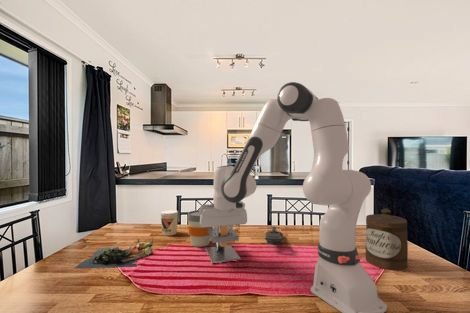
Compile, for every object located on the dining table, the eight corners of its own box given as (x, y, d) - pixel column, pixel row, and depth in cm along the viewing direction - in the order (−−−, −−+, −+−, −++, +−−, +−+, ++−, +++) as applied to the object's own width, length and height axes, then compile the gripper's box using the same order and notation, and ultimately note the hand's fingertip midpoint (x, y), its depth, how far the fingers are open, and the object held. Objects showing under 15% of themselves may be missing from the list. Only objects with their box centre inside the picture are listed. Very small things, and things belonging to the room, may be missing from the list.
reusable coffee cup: (182, 246, 122) (182, 215, 122) (193, 238, 134) (193, 209, 134) (208, 249, 119) (208, 216, 119) (216, 240, 131) (216, 210, 131)
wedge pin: (227, 246, 109) (227, 222, 109) (220, 246, 108) (220, 223, 108) (226, 243, 112) (226, 220, 112) (219, 244, 111) (219, 221, 111)
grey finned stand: (240, 260, 106) (240, 222, 106) (212, 264, 103) (212, 224, 103) (230, 247, 122) (230, 213, 121) (205, 249, 118) (205, 214, 118)
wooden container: (359, 261, 107) (359, 208, 106) (374, 252, 116) (374, 203, 116) (399, 274, 95) (400, 215, 95) (412, 263, 105) (413, 209, 105)
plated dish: (170, 244, 127) (170, 230, 126) (158, 272, 99) (158, 253, 98) (95, 247, 123) (95, 232, 123) (61, 276, 95) (61, 257, 95)
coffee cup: (157, 235, 139) (157, 212, 139) (166, 230, 148) (166, 209, 148) (172, 236, 136) (172, 214, 136) (181, 231, 145) (181, 210, 145)
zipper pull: (263, 237, 116) (265, 222, 140) (263, 252, 116) (265, 234, 140) (284, 238, 114) (282, 223, 139) (284, 253, 114) (282, 235, 139)
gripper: (200, 206, 104) (200, 240, 104) (248, 203, 109) (248, 236, 110) (198, 203, 110) (198, 235, 110) (244, 200, 116) (243, 231, 116)
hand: (223, 235), depth 110 cm, fingers closed on wedge pin, 3 cm apart
